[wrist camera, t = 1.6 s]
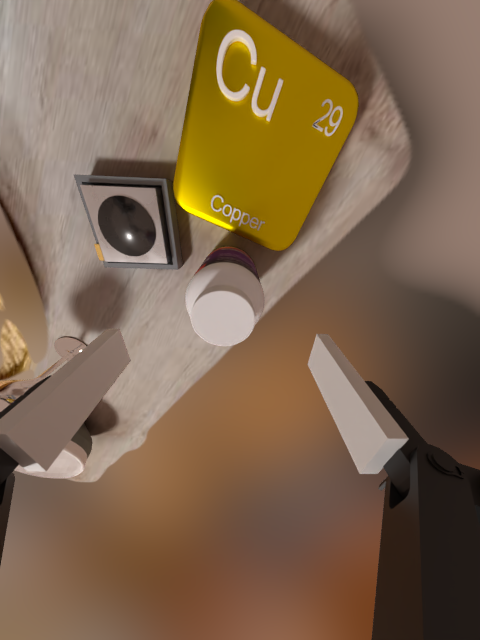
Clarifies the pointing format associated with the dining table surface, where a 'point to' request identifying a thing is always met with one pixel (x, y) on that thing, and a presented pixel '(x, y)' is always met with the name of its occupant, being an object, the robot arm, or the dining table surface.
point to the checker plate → (129, 223)
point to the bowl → (68, 457)
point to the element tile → (258, 127)
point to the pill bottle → (225, 297)
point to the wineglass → (10, 390)
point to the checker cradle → (170, 214)
